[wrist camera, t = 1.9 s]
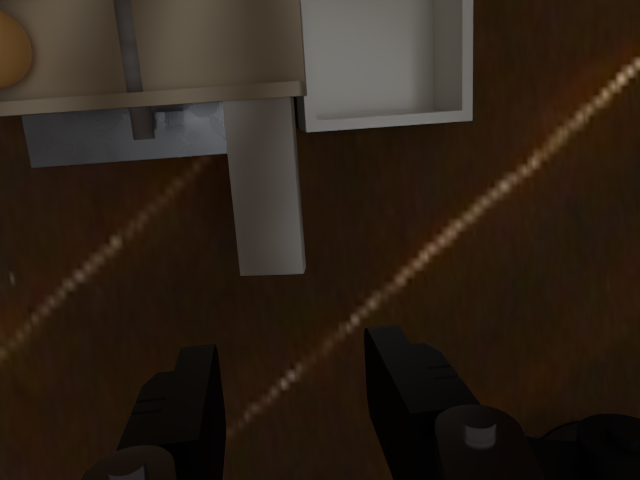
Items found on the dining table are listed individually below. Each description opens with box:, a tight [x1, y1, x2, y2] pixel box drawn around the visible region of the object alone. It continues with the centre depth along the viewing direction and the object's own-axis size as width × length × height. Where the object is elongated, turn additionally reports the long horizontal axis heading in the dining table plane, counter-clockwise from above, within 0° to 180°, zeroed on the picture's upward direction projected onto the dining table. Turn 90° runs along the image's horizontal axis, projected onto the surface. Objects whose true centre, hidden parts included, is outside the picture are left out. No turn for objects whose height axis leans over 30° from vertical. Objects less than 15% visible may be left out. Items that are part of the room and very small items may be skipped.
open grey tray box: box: [296, 0, 473, 132], centre depth 32 cm, size 10×10×6 cm
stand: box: [21, 102, 227, 168], centre depth 29 cm, size 16×12×8 cm
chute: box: [0, 0, 307, 276], centre depth 26 cm, size 16×15×4 cm
